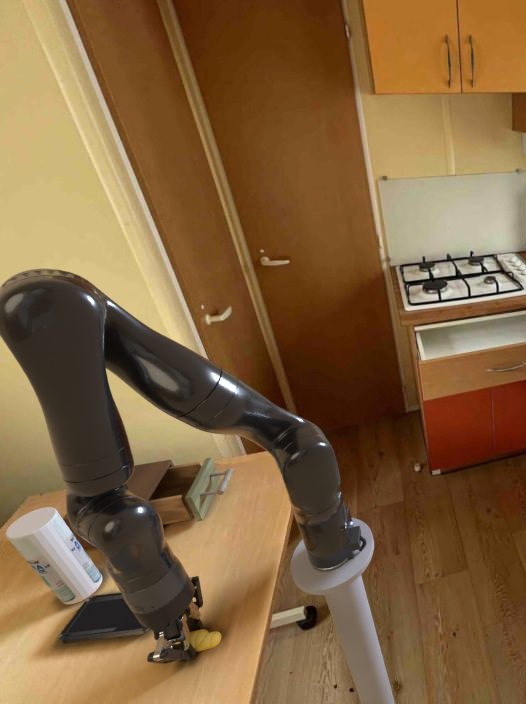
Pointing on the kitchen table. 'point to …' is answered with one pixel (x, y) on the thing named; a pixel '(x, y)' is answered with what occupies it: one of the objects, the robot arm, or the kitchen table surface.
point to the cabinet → (137, 487)
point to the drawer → (188, 491)
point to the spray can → (55, 554)
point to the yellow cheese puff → (203, 639)
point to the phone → (102, 620)
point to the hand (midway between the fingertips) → (193, 645)
